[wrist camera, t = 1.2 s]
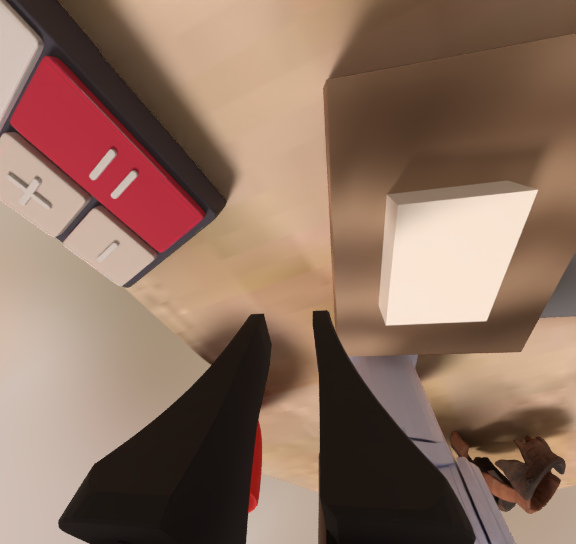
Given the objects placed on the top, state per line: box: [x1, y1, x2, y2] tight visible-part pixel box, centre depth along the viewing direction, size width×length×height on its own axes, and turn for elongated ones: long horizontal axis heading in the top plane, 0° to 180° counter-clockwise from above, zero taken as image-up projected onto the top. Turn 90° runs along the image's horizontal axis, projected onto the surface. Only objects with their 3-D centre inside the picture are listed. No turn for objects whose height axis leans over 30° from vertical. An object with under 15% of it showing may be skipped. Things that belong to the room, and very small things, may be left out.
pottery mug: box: [451, 431, 566, 514], centre depth 31 cm, size 12×10×8 cm
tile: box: [379, 180, 538, 326], centre depth 14 cm, size 8×6×2 cm
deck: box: [323, 33, 576, 357], centre depth 16 cm, size 19×14×4 cm
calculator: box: [0, 0, 226, 288], centre depth 16 cm, size 11×4×15 cm
